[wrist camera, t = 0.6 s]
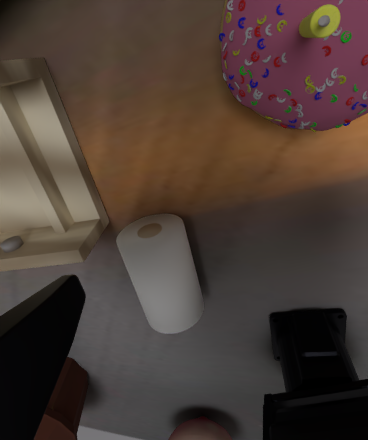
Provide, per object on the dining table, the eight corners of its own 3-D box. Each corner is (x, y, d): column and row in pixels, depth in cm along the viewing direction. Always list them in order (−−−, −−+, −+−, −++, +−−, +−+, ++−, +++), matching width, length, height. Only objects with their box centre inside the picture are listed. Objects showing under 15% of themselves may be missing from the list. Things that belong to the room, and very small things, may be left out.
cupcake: (225, 119, 19) (229, 209, 9) (213, -55, 15) (193, -293, 4) (370, 102, 17) (584, 184, 7) (403, -97, 13) (1048, -602, 3)
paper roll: (205, 286, 26) (203, 333, 22) (153, 291, 28) (141, 336, 23) (186, 208, 23) (178, 246, 18) (126, 217, 24) (105, 255, 19)
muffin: (117, 378, 36) (84, 483, 27) (71, 406, 41) (31, 502, 32) (32, 328, 32) (-35, 429, 24) (-6, 365, 37) (-74, 459, 29)
